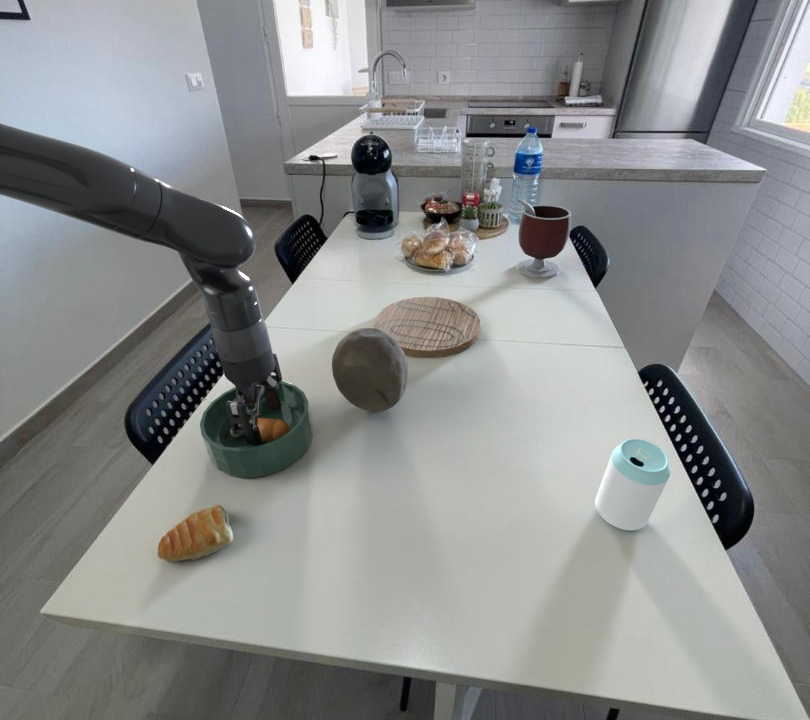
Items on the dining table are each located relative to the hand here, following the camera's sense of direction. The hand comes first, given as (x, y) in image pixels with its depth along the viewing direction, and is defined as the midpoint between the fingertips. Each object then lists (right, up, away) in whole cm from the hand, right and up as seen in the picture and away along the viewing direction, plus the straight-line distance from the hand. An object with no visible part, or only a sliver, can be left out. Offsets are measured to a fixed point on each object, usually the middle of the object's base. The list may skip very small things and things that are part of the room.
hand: (265, 425), depth 75 cm
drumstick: (-1, -2, +2) cm, 3 cm away
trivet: (+29, +19, +32) cm, 47 cm away
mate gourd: (+62, +38, +58) cm, 94 cm away
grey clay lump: (+17, +3, +10) cm, 20 cm away
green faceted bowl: (-1, -3, +2) cm, 4 cm away
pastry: (-5, -14, -13) cm, 20 cm away
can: (+55, -11, -11) cm, 57 cm away
